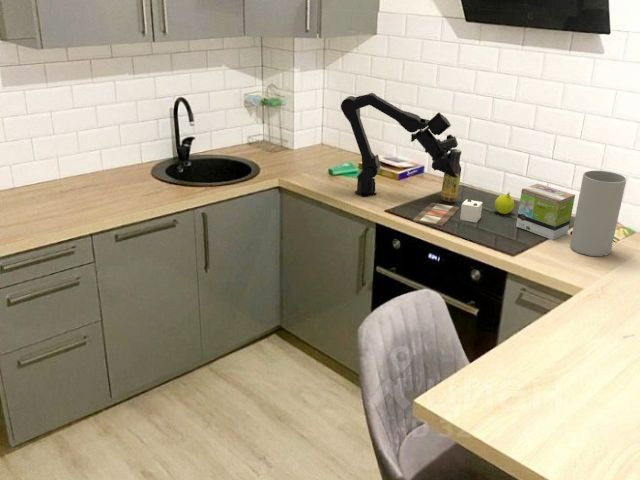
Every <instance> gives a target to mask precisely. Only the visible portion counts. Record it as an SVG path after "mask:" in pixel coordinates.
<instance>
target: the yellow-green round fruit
mask: <svg viewBox="0 0 640 480" xmlns="http://www.w3.org/2000/svg"><path fill="white" fill-rule="evenodd" d="M514 208H515V200H514V199H513V198H512V197H511V196H510V191H508V192H507V194H500V195H499V196H498V197H496V199H495V200H494V209H495V210H496V211H497V212H498V213H499V214H502V215H506V214H509V213H511V212H512V211H513V210H514Z"/></svg>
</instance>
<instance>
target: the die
mask: <svg viewBox="0 0 640 480" xmlns="http://www.w3.org/2000/svg"><path fill="white" fill-rule="evenodd" d="M483 204H484V203H483V201H480V200H479V201H478V200H472V199H468V198H467V199H465V200H464V201H463V202H462V203H461V208H460V218H459V220H460V221H465V222H470V223H478V222H479V221H480V219H481V217H482V210H483Z"/></svg>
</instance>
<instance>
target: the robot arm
mask: <svg viewBox="0 0 640 480" xmlns="http://www.w3.org/2000/svg"><path fill="white" fill-rule="evenodd" d="M368 106H370V107H373V108H374V109H376V110H377V111H379V112H381V113H383V114H384V115H386V116H388V117H389V118H392V120H395V121H396V122H397V123H398V124H399V126H401V127H402V128H403V129H404V130H405V131H407V132H409V133H411V134H410V138H411V139H410V142H411V143H413V142H414V141H417V142H418V143H419V144H420V146H422V148H423V149H424V152H425V153H426V154H427V153H428V155H429V156H430V157H431V160H432V163H431V168H432V169H433V170H434V171H439V172H441V173H443V174H444V173H446V174H448V175H450V176H452V177H455V176H456V174H455V172H454V171H453V169H452V167H451V166H450V164H449V162H450V155H451V154H450V151H451V149H457V148H458V146H459V144H458V141H457V138H456V136H455V135H454V136H453V135H452V134H448V135H446V139H444V140H441V139H439V138H436V137H435V136H440V135H441V134H443V133H445V131H446V130H448V129H449V128H450V127H452V125H451V123H450V121H449V120H448V118H447V117H446V116H444V115H443V114H441V112H437V113H436V114H435V115H434V116H433V117H432V118H430V119H427V118H421V116H420V115H418V114H415V113H413V112H410V111H406V110H403V109H400V108H399V107H397V106H395V105H393V104H391V103H390V102H388V101H387V100H384V99H383V98H381V97H380V96H377V95H376V93H373V92H369V93H367V94H363V95H358V96H354V95H350V96H347V97H346V98H345V99H343V100H342V101H341V104H340V109H341V111H342V114H343V115H344V117H345V119H346V120H347V121H348V122H349V124H350V127H351V129H352V133H353V135H354V139H355V141H356V144H357V147H358V150H359V153H360V156H361V168H362V169H361V171H360V172H359V173H358V174H357V177H356V178H357V185H356V187H357V188H356V190H354V194H357V195H359V196H361V197H363V198H364V197H365V198H366V197H370V196H376V195H377V193H376V178H375V177H376V176H377V175H378V173H379V172H380V170H381V165H382V162H381V161H380V158H379V154H376V155H375V154H374V153H373V151H372V148H371V146H370V142H369V140H368V136H367V134H366V130H365V127H364V125H363V122H362V119H361V109H362V108H364V107H368Z"/></svg>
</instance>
